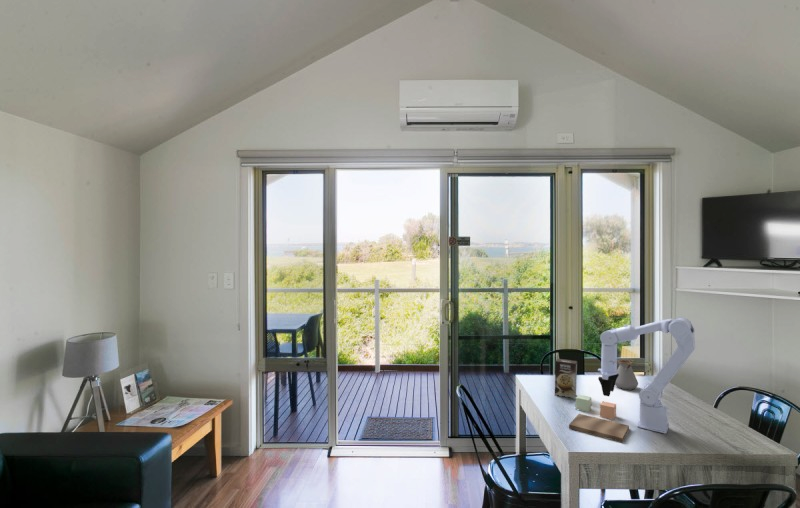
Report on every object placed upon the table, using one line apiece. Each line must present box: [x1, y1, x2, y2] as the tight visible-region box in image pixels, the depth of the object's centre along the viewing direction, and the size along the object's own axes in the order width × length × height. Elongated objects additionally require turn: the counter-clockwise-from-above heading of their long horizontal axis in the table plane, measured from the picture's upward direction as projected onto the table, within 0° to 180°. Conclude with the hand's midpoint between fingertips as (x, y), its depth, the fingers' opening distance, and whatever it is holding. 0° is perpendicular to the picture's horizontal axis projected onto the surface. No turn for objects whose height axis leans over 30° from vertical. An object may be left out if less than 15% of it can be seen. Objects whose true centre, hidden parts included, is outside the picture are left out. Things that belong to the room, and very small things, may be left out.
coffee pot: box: [615, 359, 639, 391], centre depth 202 cm, size 21×12×15 cm, turn 158°
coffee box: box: [554, 358, 578, 399], centre depth 194 cm, size 9×6×16 cm
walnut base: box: [568, 413, 630, 443], centre depth 156 cm, size 18×14×2 cm
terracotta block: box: [599, 400, 617, 421], centre depth 169 cm, size 5×5×5 cm
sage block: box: [575, 394, 592, 413], centre depth 177 cm, size 5×5×5 cm
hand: (608, 393), depth 169 cm, fingers open, 7 cm apart
